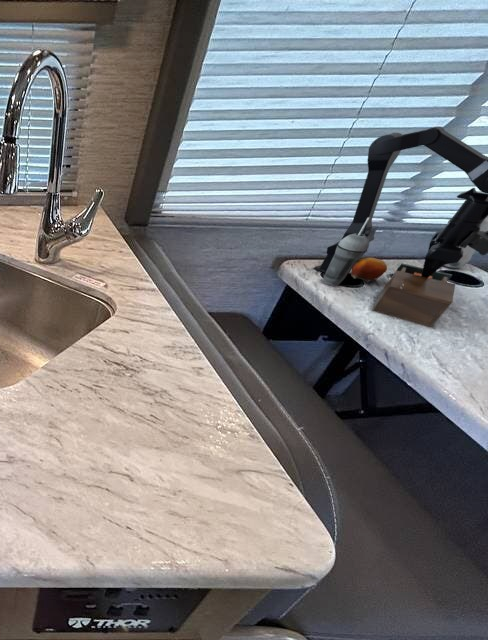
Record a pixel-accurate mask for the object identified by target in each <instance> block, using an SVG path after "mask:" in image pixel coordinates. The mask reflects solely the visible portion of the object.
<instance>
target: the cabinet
mask: <svg viewBox="0 0 488 640" xmlns="http://www.w3.org/2000/svg"><path fill="white" fill-rule="evenodd" d="M393 274H394V275H393ZM393 274H392V275H391V277H390V278H389V280H388V281H387V283H386V284H385V286H384V287H383V288H382V289H381V291H380V293H379V295H378V297H377V299H376V301H375V304H374V306H373V308H372V311H374V312H377V313H380V314H384V315H388V316H390V317H394V318H398V319H401V320H405V321H409V322H413V323H415V324H420V325H423V326H427V327H429V328H431V327H433V325H434V324H435V323H436V322H437V321H438V319H440V317H441V316H442V315H443V314H444V313H445V311H447V309H448V308H449V307H450V306H451V305H452V304H453V302H454V294H455V289H456V283H453V282H449V281H447V282H444V281H440V280H436V279H431V278H427V277H423V276H419V275H414V274H410V273H406V272H401V271H396V270H395V271H394V273H393Z"/></svg>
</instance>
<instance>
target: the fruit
mask: <svg viewBox="0 0 488 640" xmlns="http://www.w3.org/2000/svg"><path fill="white" fill-rule="evenodd" d="M387 270H388V265H387V263H386V262H385V261H384V260H382V259H379V258H375V257H369V256H368V257H363V258H360V259H359V260H358V261H357V263H356V264H355V265H354V267H353V268H352V269H351V271H350V276H351V277H352V278H353V280H357V279H358V280H363V281H365V282H366V283H367V284H369V282H372V281H375V280H377V279H379V278H380V277H382V276H383V275H384V274H385V273H386V272H387Z"/></svg>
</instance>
